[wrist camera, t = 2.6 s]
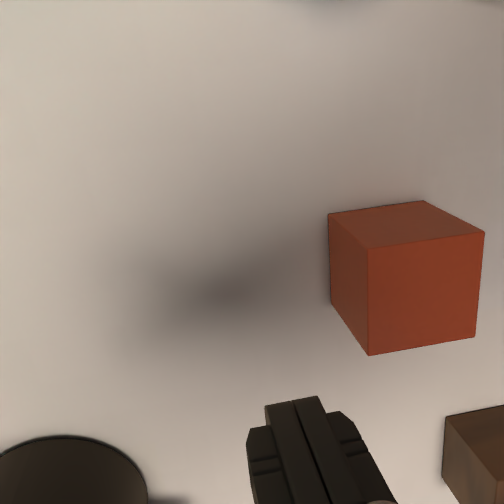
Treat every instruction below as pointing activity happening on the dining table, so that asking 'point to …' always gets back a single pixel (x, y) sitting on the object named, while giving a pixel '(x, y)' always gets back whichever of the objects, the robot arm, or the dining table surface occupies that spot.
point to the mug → (69, 475)
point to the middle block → (405, 275)
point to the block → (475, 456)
